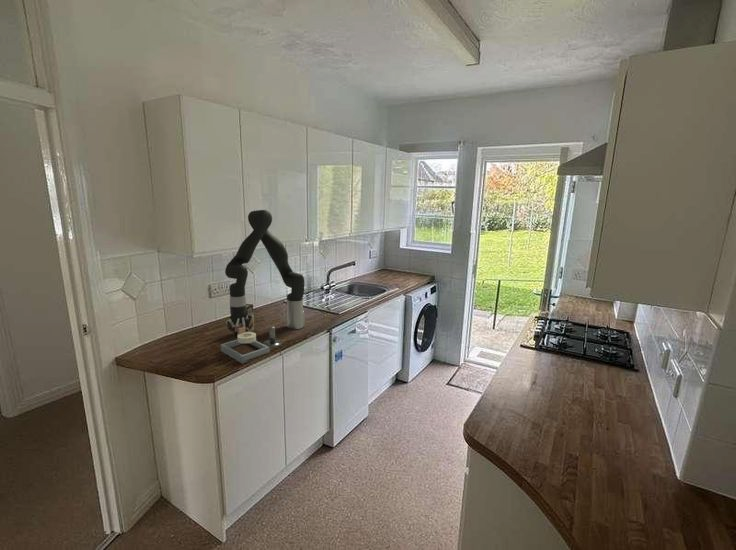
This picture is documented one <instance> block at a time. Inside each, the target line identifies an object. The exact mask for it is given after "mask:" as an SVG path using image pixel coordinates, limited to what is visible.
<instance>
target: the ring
mask: <svg viewBox="0 0 736 550" xmlns="http://www.w3.org/2000/svg"><path fill="white" fill-rule="evenodd" d="M237 333H238V335H237V339H238V342H239V343H243V344H249V343H251V342H254V341H255V340H256V341H257V334H256V332H253V331H251V332H246V331H245V327H243V326H241V325H238V328H237ZM237 339H236V340H237Z"/></svg>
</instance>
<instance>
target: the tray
mask: <svg viewBox="0 0 736 550" xmlns="http://www.w3.org/2000/svg"><path fill="white" fill-rule="evenodd" d="M243 344H244V343H239V342H238V339H235V340H232V341H228V342H224V343H221V344H220V351H221V353H224V354H225V355H227V356H228V355H229V357H230V358H232V359H233V358H234V359H233V360H235V359H236V360H235V361H237V362H238V361H239V362H238V363H240V364H242V365H243V364H245V363H248V362H249V360H251V359H255V358H257V357H259V356H263V355H266V354H269V353H271V351H270V350H271V349H270V348H271V347H268V346H266V345H264V344H263V342H261V341H258V340H257V339H256V340H255V341H254V342H251V343H248V344H250V345H252V346H253V347H255V348H257V350H253V351H250V352H248V353H245V354H242V353H240V352H238V351H237V350H235V349H233V348H234V347H237V346H240V345H243Z"/></svg>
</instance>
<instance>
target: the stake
mask: <svg viewBox="0 0 736 550" xmlns="http://www.w3.org/2000/svg"><path fill="white" fill-rule="evenodd" d="M268 328H269V331H268V333H269V339H268V340H265V341H263V342H262V344H264V345H266V346H268V347H270V348H275V347H279V346H282V344H283V340H280V339H277V338H276V327H275V325H270V326H269V327H268Z"/></svg>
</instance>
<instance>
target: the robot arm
mask: <svg viewBox="0 0 736 550" xmlns="http://www.w3.org/2000/svg"><path fill="white" fill-rule="evenodd" d="M272 215H273V214H272V213H271V212H270V211H269V210H267V209H259V210H252V211H249V213H248V216H247V221H248V223H249V226H250V227H251V229H252V231H251V232H250V233H249V235H248V236H247V237H246V238H244V240H243V241H242V243H241V244H240V245H239V248H238V250H237V251H236V254H235V255H234V256H233V257H232V259H231V260H230V261H229V262H228V263H227V264H226V267H225V269H224V270H225V271H224V273H225V274H224V275H225V276H226V277H227V278H229V279H235V280H236V281H235V282H234V283H231V284H230V285H229V313H230V316H229V319H227V320H225V321H224V323H225V325H226V327H227V329H228V330H229V331H230V332H232V335H233V337H234V339H235V340H237V335H238V333H237V328H238V324H240V325H241V326H243V327H245V329H246V328H247V327H249V324H250V321H251V318H252V316H250V315H247V314H246V304H247V299H246V284H247V280H248V276H249V273H248V268H247V266H245V265H244V264H248V263H249V262H250V260H251V259H252V256H253V254H254V252H255V250H256V248H257V246H258V244H259V243H260V242H261V244H263V246H264V248H265V249H266V252H267V253H268V255H269V256H270V258H271V260H272V261H273V263H274V265H275V267H276V268H277V270H278V272H279V274H280V277H281V279H282V282H283V283H284V285H285V286H286V287H287V288H291V289H290V293H288V294H286V295H287V296H286V306H287V307H286V311H287V312H286V315H287V316H286V317H287V320H286V322H287V328H288V329H292V330H300V329H302V328H303V327H305V311H304V307H303V306H304V302H303V300H304V295H305V277H304V274H301V273H298V272H295V271H294V270H292V268H291V266H290V264H289V255H288V251H287V249H286V247H285V245H284V244H283V242H282V241H281V240H280V239H279V238H278V237H276V236H275V235H273V234H272V233H271V231H270V230H269V228H270V226H271V225H272V222H273V216H272ZM245 319H246V321H245Z"/></svg>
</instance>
